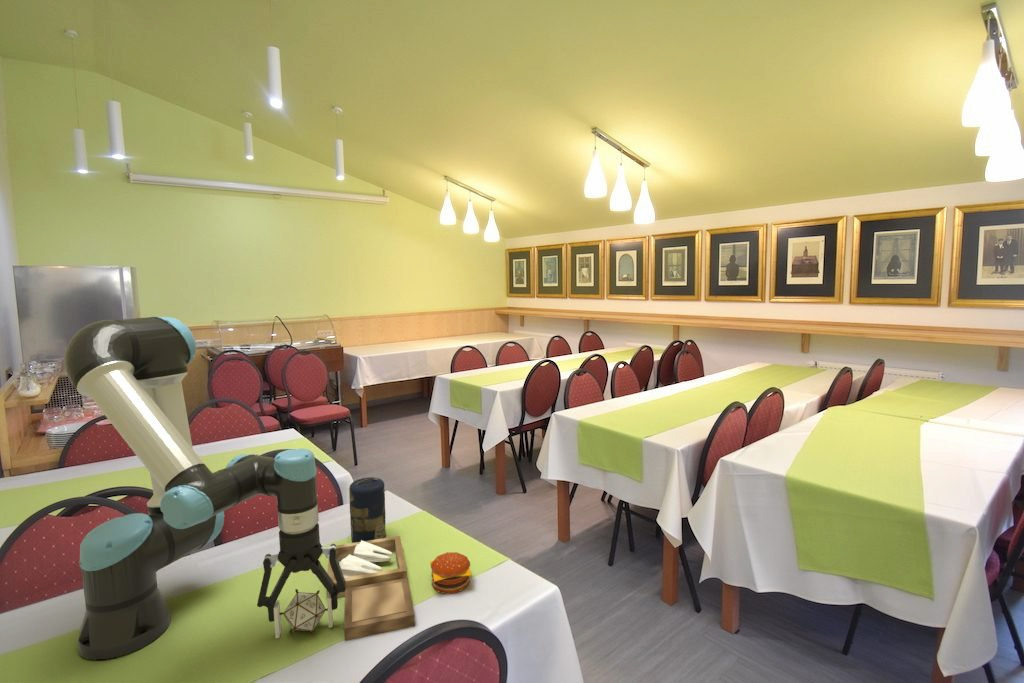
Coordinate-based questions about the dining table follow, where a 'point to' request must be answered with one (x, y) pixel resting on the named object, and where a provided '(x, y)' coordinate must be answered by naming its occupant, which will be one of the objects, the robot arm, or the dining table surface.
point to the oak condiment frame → (386, 543)
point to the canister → (367, 509)
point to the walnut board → (378, 608)
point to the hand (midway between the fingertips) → (305, 628)
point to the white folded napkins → (364, 560)
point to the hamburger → (450, 572)
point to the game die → (304, 611)
